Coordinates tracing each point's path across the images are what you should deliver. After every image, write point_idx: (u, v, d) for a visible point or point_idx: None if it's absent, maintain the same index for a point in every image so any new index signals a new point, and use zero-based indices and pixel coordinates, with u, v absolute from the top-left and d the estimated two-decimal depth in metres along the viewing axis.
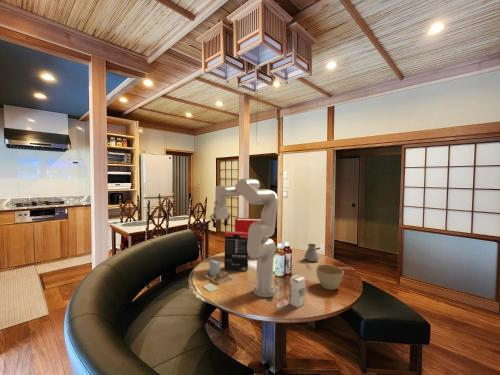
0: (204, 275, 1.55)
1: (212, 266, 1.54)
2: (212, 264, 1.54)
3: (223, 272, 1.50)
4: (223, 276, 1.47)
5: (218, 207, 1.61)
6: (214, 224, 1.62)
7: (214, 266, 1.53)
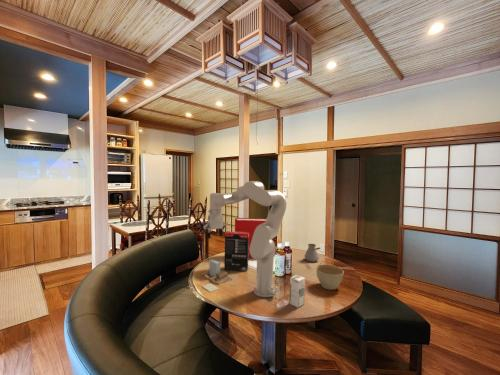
0: (204, 275, 1.55)
1: (212, 266, 1.54)
2: (212, 264, 1.54)
3: (223, 272, 1.50)
4: (223, 276, 1.47)
5: (212, 216, 1.50)
6: (208, 234, 1.50)
7: (214, 266, 1.53)
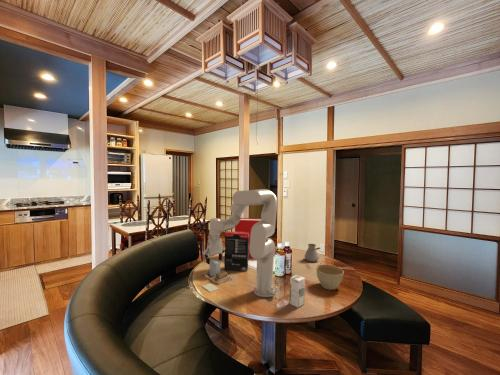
0: (204, 275, 1.55)
1: (212, 266, 1.54)
2: (212, 264, 1.54)
3: (223, 272, 1.51)
4: (223, 276, 1.48)
5: (212, 242, 1.51)
6: (207, 260, 1.51)
7: (214, 266, 1.53)
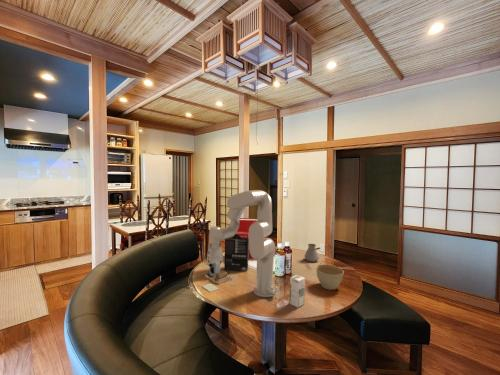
0: (204, 275, 1.55)
1: None
2: None
3: (222, 272, 1.51)
4: (223, 276, 1.48)
5: (212, 251, 1.51)
6: (212, 270, 1.53)
7: (214, 266, 1.53)
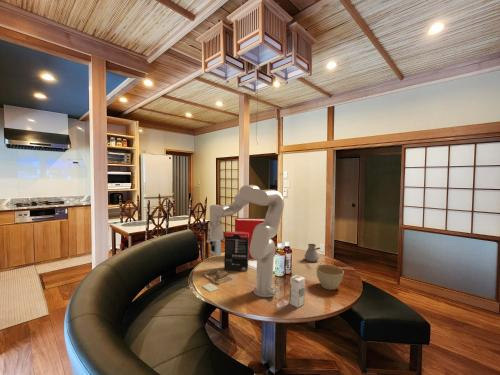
0: (204, 275, 1.55)
1: None
2: None
3: (223, 272, 1.51)
4: (223, 276, 1.48)
5: (213, 228, 1.50)
6: (212, 248, 1.52)
7: (214, 244, 1.52)
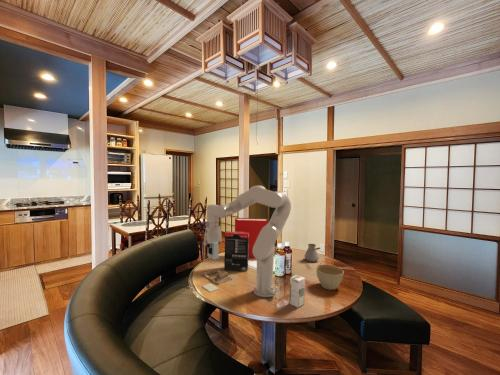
0: (204, 275, 1.55)
1: None
2: None
3: (223, 272, 1.51)
4: (223, 276, 1.48)
5: (210, 230, 1.41)
6: (210, 250, 1.43)
7: (212, 246, 1.43)
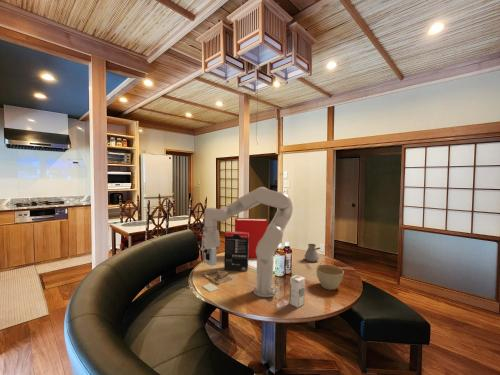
0: (204, 275, 1.55)
1: None
2: None
3: (223, 272, 1.51)
4: (223, 276, 1.48)
5: (208, 234, 1.33)
6: (207, 256, 1.36)
7: (209, 252, 1.36)
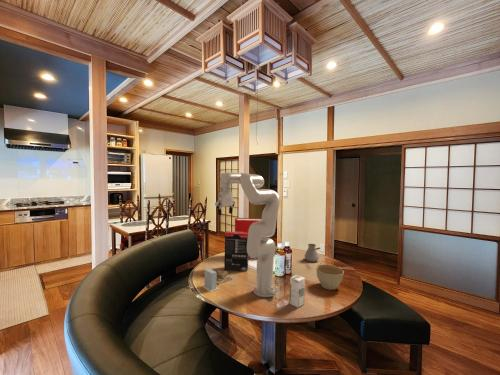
0: (204, 275, 1.55)
1: (208, 276, 1.37)
2: (208, 274, 1.37)
3: (223, 271, 1.51)
4: (224, 275, 1.49)
5: (223, 194, 1.60)
6: (219, 211, 1.61)
7: (209, 276, 1.36)
